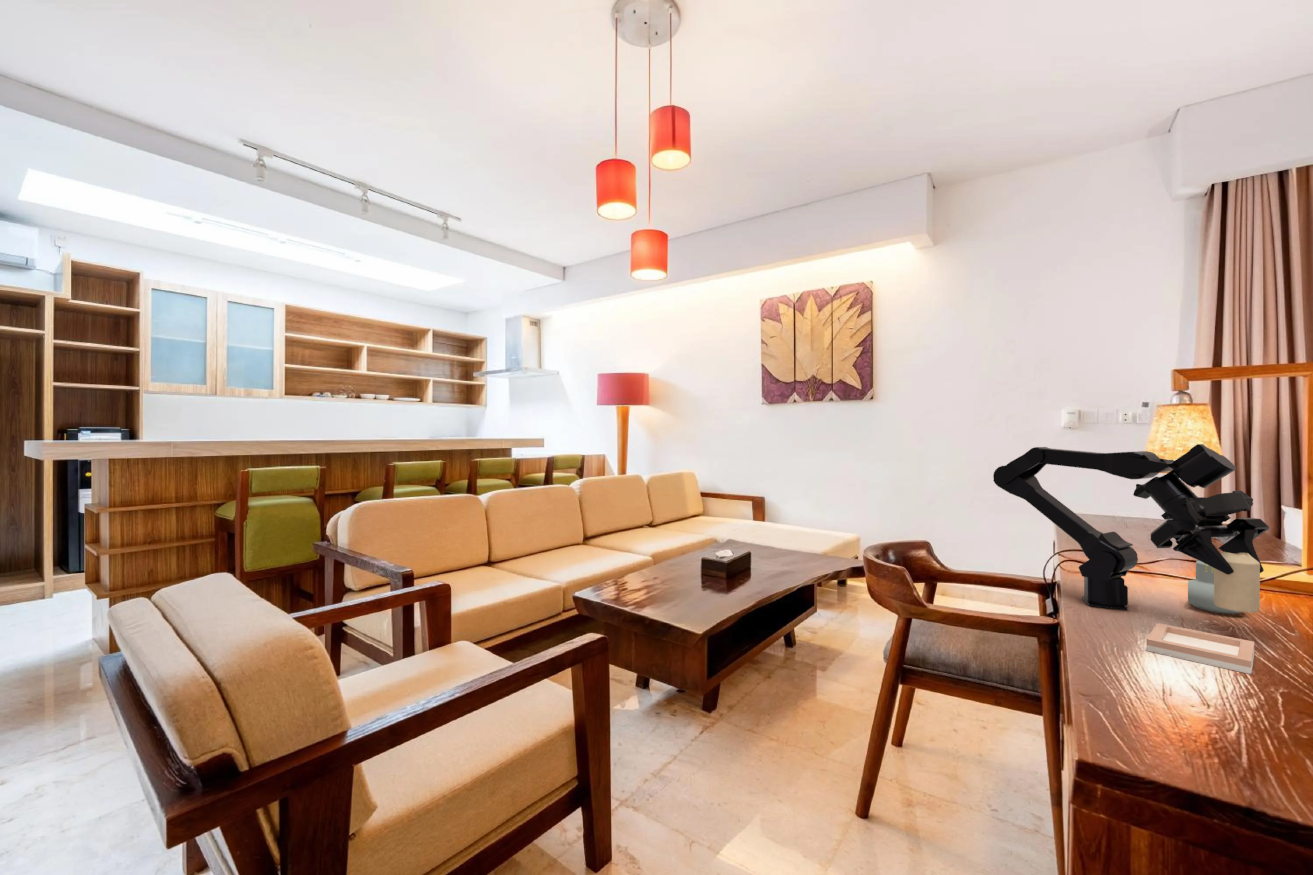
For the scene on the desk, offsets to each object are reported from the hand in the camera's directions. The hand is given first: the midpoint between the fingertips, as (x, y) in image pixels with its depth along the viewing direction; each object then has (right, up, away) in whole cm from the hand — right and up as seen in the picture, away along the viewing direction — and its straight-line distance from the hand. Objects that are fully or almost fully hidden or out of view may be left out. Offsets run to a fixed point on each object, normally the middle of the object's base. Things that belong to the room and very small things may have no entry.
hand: (1246, 572), depth 93 cm
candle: (0, -7, +1) cm, 7 cm away
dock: (-11, -13, -3) cm, 17 cm away
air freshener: (+14, -13, +19) cm, 27 cm away
